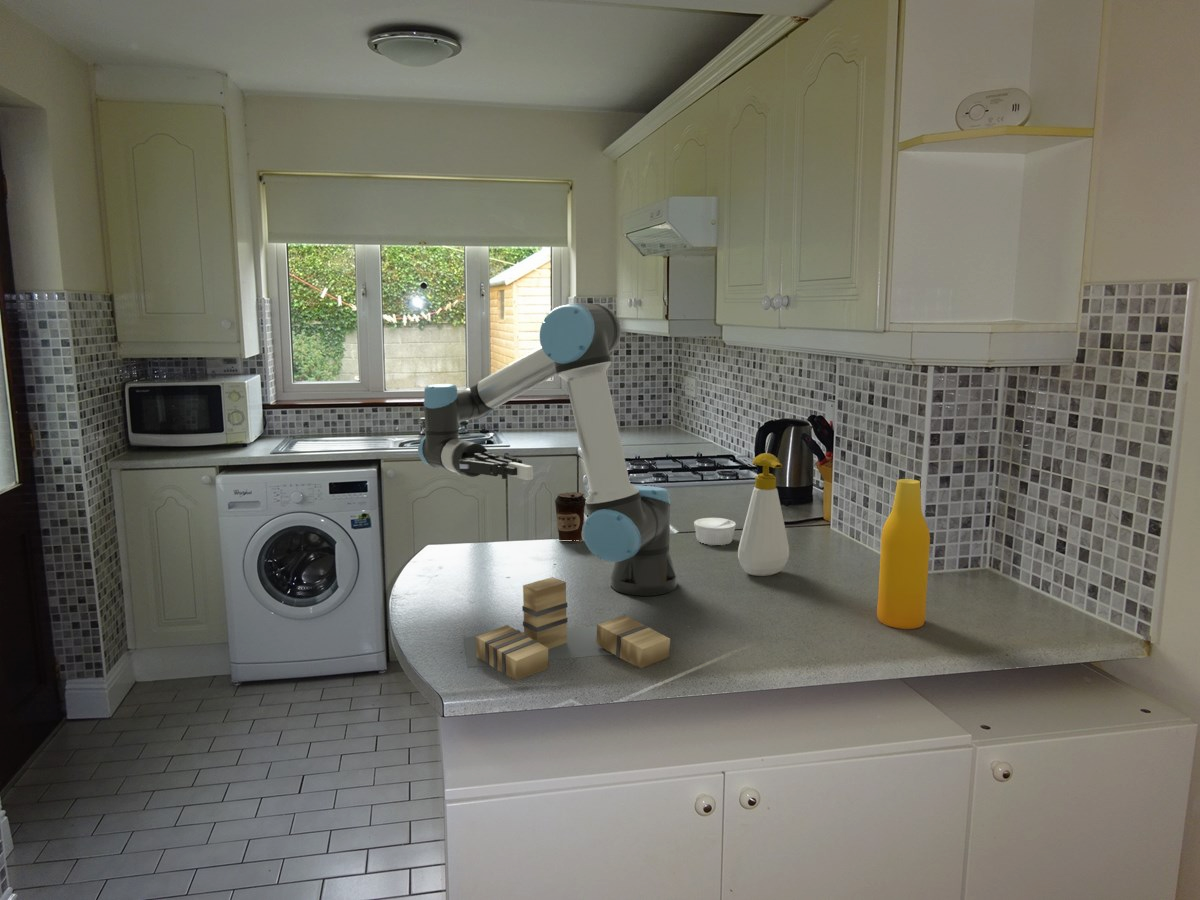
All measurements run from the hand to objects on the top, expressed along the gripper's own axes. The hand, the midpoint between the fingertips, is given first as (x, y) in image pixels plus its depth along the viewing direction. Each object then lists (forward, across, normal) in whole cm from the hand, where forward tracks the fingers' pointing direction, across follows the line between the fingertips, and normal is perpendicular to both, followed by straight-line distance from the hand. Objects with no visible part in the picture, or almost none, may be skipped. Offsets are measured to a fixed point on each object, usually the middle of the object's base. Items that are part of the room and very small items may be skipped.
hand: (530, 473), depth 171 cm
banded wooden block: (+23, -1, -27) cm, 35 cm away
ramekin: (-10, -70, -30) cm, 77 cm away
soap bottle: (+17, -56, -30) cm, 66 cm away
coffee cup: (-37, -41, -30) cm, 63 cm away
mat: (+15, +8, -30) cm, 35 cm away
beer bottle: (+54, -52, -30) cm, 81 cm away
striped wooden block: (+12, +18, -27) cm, 35 cm away
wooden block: (+15, +8, -30) cm, 34 cm away
